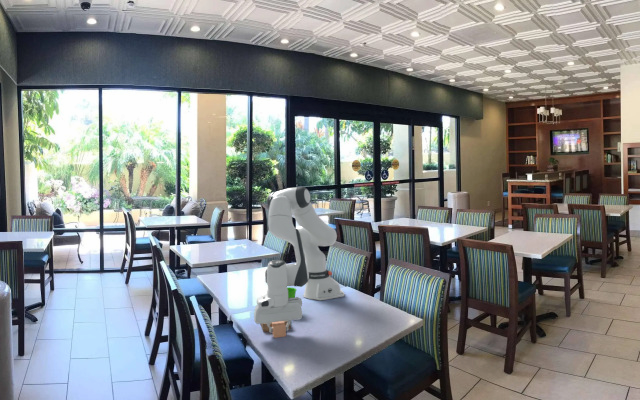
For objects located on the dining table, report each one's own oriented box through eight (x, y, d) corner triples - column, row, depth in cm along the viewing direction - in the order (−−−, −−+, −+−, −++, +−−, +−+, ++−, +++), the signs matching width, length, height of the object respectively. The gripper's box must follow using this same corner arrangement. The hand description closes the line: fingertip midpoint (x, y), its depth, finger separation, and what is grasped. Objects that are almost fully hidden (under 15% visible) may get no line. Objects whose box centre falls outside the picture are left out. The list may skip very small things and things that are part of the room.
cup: (276, 310, 212) (275, 288, 211) (294, 307, 215) (293, 286, 214) (281, 316, 204) (280, 293, 203) (299, 313, 207) (298, 291, 206)
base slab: (285, 320, 199) (285, 312, 199) (290, 329, 187) (290, 320, 187) (259, 323, 196) (259, 315, 196) (263, 333, 184) (263, 324, 184)
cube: (283, 331, 184) (283, 320, 184) (285, 336, 179) (285, 324, 179) (272, 333, 183) (271, 322, 182) (274, 337, 178) (273, 326, 178)
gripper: (300, 294, 186) (301, 325, 187) (253, 299, 180) (254, 331, 181) (303, 298, 180) (304, 330, 181) (254, 303, 174) (255, 336, 175)
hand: (278, 331), depth 181 cm, fingers closed on cube, 5 cm apart
